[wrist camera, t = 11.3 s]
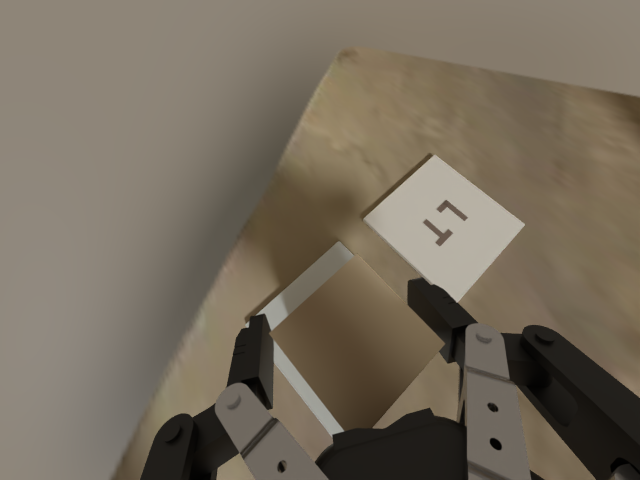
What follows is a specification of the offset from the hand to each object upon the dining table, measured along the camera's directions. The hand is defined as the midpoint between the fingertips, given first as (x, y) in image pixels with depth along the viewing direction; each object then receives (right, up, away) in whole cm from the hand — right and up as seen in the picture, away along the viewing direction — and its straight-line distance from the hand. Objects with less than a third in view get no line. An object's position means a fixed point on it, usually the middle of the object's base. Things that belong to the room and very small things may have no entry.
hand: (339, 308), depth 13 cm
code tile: (+10, +5, +8) cm, 14 cm away
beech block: (0, -3, +5) cm, 6 cm away
